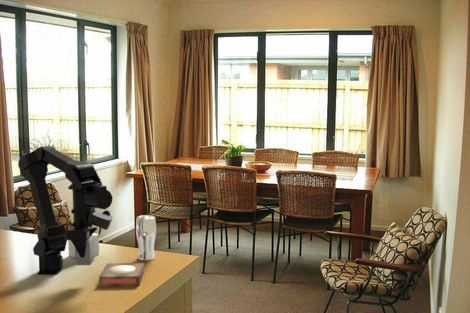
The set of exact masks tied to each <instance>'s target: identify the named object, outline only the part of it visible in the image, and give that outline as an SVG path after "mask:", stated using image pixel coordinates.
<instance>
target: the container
mask: <svg viewBox="0 0 470 313" xmlns="http://www.w3.org/2000/svg"><path fill="white" fill-rule="evenodd" d="M92 226H93V227H94V225H92ZM92 235H93V247H94V257H96V256H99V255H100V240H99V239H100V234H98V233H95V232H94V233H93V234H92ZM67 243H68V245H67V246H68V257H70V258H74V259H75V246H74V245H73V243H72V241H71V240H67Z"/></svg>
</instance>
